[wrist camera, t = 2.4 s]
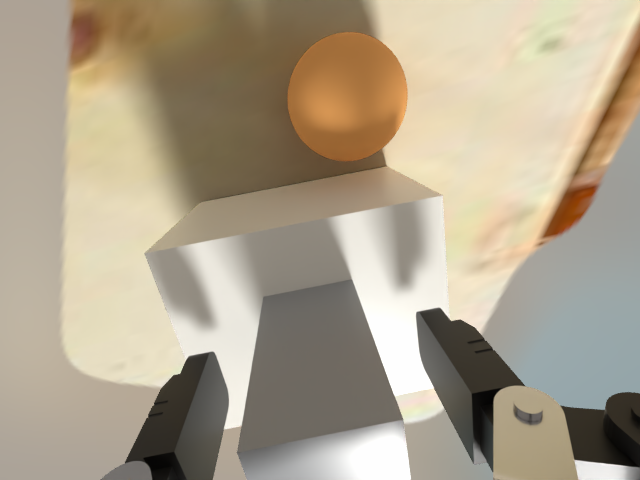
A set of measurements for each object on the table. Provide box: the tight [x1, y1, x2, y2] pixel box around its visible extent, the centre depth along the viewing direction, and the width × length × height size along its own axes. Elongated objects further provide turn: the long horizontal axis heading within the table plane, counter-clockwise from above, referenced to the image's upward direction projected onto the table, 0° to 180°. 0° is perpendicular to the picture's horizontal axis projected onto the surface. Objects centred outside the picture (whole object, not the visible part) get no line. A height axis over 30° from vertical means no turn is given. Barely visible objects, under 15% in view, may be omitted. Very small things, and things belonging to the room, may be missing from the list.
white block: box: [145, 166, 450, 480], centre depth 13 cm, size 8×10×13 cm
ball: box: [288, 32, 407, 161], centre depth 15 cm, size 5×5×5 cm
